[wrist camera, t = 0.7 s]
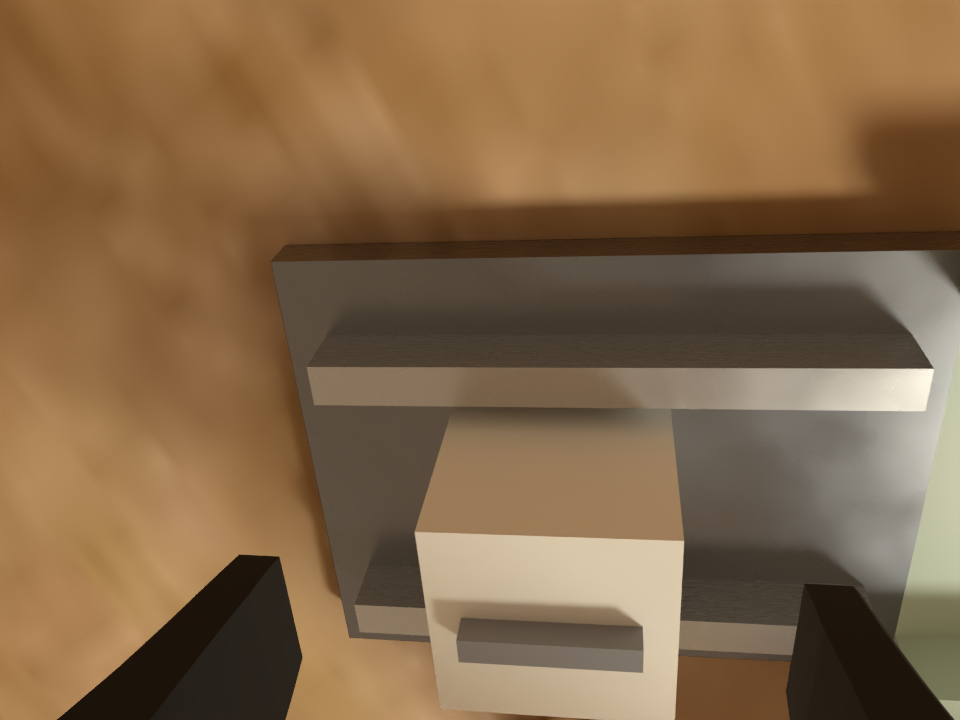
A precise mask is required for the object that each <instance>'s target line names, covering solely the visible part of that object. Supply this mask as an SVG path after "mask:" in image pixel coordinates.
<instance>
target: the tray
mask: <svg viewBox="0 0 960 720" xmlns="http://www.w3.org/2000/svg"><path fill="white" fill-rule="evenodd" d="M894 642H895V643H896V644H897V646H898V647H899V649H900V650H901V651H902V653H903V654H904V655H905V657H906V658H907V659H908V661H909V662H910V663H911V665H912V666H913V667H914V669H915V670H916V671H917V673H918V674H919V675H920V677H921V678H922V679H923V681H924V682H925V683H926V684H927V686H928V687H929V688H930V690H931V691H932V692H933V694H934V695H935V696H936V697H937V699H938V700H939V701H940V702H941V704H942V705H943V706H944V707H945V709H946V710H947V711H948V712H949V714H950V715H951V716H952V717H953V719H954V720H960V346H959V350H958V355H957V359H956V364H955V368H954V372H953V377H952V381H951V386H950V390H949V395H948V399H947V404H946V408H945V413H944V417H943V422H942V426H941V431H940V435H939V440H938V444H937V449H936V453H935V458H934V462H933V467H932V471H931V476H930V480H929V485H928V489H927V493H926V498H925V502H924V507H923V511H922V516H921V520H920V525H919V529H918V534H917V538H916V543H915V547H914V552H913V556H912V561H911V565H910V570H909V574H908V579H907V583H906V588H905V592H904V597H903V601H902V606H901V610H900V615H899V619H898V623H897V628H896V632H895V637H894Z"/></svg>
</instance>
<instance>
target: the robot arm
mask: <svg viewBox="0 0 960 720" xmlns="http://www.w3.org/2000/svg"><path fill="white" fill-rule="evenodd" d="M301 661H302V653H301V649H300V644H299V640H298V636H297V631H296V627H295V623H294V618H293V614H292V610H291V605H290V601H289V597H288V592H287V588H286V584H285V579H284V575H283V571H282V566H281V562H280V558H279V557H275V556H256V555H238V556H237V557H236V558H235V559H234V560H233V561H232V562H231V563H230V564H229V565H228V566H226V567H225V568H224V569H223V570H222V571H221V572H220V573H219V574H218V575H217V576H216V577H215V578H214V579H213V580H212V581H211V582H209V583H208V584H207V585H206V586H205V587H204V588H203V589H202V590H201V591H200V592H199V593H198V594H197V595H196V596H195V597H194V598H193V599H192V600H191V601H190V602H188V603H187V604H186V605H185V606H184V607H183V608H182V609H181V610H180V611H179V612H178V613H177V614H176V615H175V616H174V617H173V618H172V619H171V620H170V621H168V622H167V623H166V624H165V625H164V626H163V627H162V628H161V629H160V630H159V631H158V632H157V633H156V634H154V635H153V636H152V637H151V638H150V639H149V640H148V641H147V642H146V643H145V644H144V645H143V646H141V647H140V648H139V649H138V650H137V651H136V652H135V653H134V654H133V655H132V656H131V657H129V658H128V659H127V660H126V661H125V662H124V663H123V664H122V665H121V666H120V667H118V668H117V669H116V670H115V671H114V672H113V673H112V674H110V675H109V676H108V677H107V678H106V679H104V680H103V681H102V682H101V683H100V684H99V685H97V686H96V687H95V688H94V689H93V690H92V691H90V692H89V693H88V694H87V695H86V696H85V697H83V698H82V699H81V700H80V701H79V702H77V703H76V704H75V705H74V706H73V707H72V708H70V709H69V710H68V711H67V712H66V713H65V714H63V715H62V716H61V717H60V718H59V719H57V720H285V719H286V716H287V712H288V709H289V705H290V702H291V698H292V695H293V691H294V687H295V684H296V680H297V676H298V672H299V669H300V665H301ZM786 693H787V701H788V708H789V716H790V720H954V719H953V717H952V716H951V715H950V714H949V712H948V711H947V710H946V709H945V707H944V706H943V705H942V704H941V702H940V701H939V700H938V699H937V697H936V696H935V695H934V694H933V692H932V691H931V690H930V688H929V687H928V686H927V684H926V683H925V682H924V681H923V679H922V678H921V677H920V675H919V674H918V673H917V671H916V670H915V669H914V667H913V666H912V665H911V663H910V662H909V661H908V659H907V658H906V657H905V655H904V654H903V653H902V651H901V650H900V649H899V647H898V646H897V644H896V643H895V642H894V640H893V639H892V637H891V636H890V635H889V633H888V632H887V631H886V629H885V628H884V626H883V625H882V623H881V622H880V621H879V619H878V618H877V616H876V615H875V614H874V612H873V611H872V609H871V608H870V606H869V605H868V603H867V602H866V601H865V599H864V598H863V596H862V595H861V593H860V592H859V591H858V590H857V589H856V588H855V587H854V586H840V585H820V584H804V588H803V593H802V599H801V605H800V611H799V617H798V623H797V629H796V635H795V641H794V647H793V653H792V659H791V665H790V671H789V677H788V683H787V689H786Z"/></svg>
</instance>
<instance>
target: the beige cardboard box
mask: <svg viewBox="0 0 960 720" xmlns="http://www.w3.org/2000/svg"><path fill="white" fill-rule="evenodd" d="M415 538H416V545H417V552H418V559H419V565H420V572H421V579H422V586H423V593H424V600H425V607H426V614H427V620H428V627H429V634H430V641H431V648H432V655H433V662H434V669H435V675H436V682H437V689H438V696H439V703H440V709H446V710H461V711H476V712H491V713H506V714H521V715H536V716H551V717H566V718H581V719H596V720H675V707H676V688H677V669H678V650H679V631H680V612H681V593H682V573H683V554H684V534H683V524H682V515H681V505H680V495H679V485H678V475H677V465H676V456H675V446H674V436H673V426H672V416H671V409H643V408H545V407H453V408H452V412H451V415H450V418H449V421H448V425H447V428H446V431H445V434H444V438H443V441H442V444H441V448H440V451H439V454H438V457H437V461H436V464H435V467H434V470H433V474H432V477H431V480H430V483H429V487H428V490H427V493H426V496H425V500H424V503H423V506H422V510H421V513H420V516H419V519H418V523H417V526H416V529H415Z"/></svg>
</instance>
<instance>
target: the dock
mask: <svg viewBox="0 0 960 720" xmlns="http://www.w3.org/2000/svg"><path fill="white" fill-rule="evenodd" d="M271 265H272V270H273V275H274V280H275V285H276V289H277V294H278V299H279V304H280V308H281V313H282V318H283V323H284V327H285V332H286V337H287V342H288V347H289V351H290V356H291V361H292V366H293V370H294V375H295V380H296V385H297V390H298V394H299V399H300V404H301V409H302V413H303V418H304V423H305V428H306V432H307V437H308V442H309V447H310V452H311V456H312V461H313V466H314V471H315V475H316V480H317V485H318V490H319V495H320V499H321V504H322V509H323V514H324V518H325V523H326V528H327V533H328V538H329V542H330V547H331V552H332V557H333V561H334V566H335V571H336V576H337V580H338V585H339V590H340V595H341V600H342V604H343V609H344V614H345V619H346V623H347V628H348V633H349V638H364V639H382V640H401V641H419V642H431V641H430V634H429V627H428V620H427V614H426V607H425V600H424V593H423V586H422V579H421V572H420V565H419V559H418V552H417V545H416V538H415V529H416V526H417V523H418V519H419V516H420V513H421V510H422V506H423V503H424V500H425V496H426V493H427V490H428V487H429V483H430V480H431V477H432V474H433V470H434V467H435V464H436V461H437V457H438V454H439V451H440V448H441V444H442V441H443V438H444V434H445V431H446V428H447V425H448V421H449V418H450V415H451V412H452V408H453V407H545V408H643V409H671V416H672V426H673V436H674V446H675V456H676V465H677V475H678V485H679V495H680V505H681V515H682V524H683V534H684V554H683V573H682V593H681V612H680V631H679V650H678V656H695V657H713V658H731V659H750V660H768V661H786V662H791V659H792V653H793V647H794V641H795V635H796V629H797V623H798V617H799V611H800V605H801V599H802V593H803V588H804V584H820V585H840V586H854V587H855V588H856V589H857V590H858V591H859V592H860V593H861V595H862V596H863V598H864V599H865V601H866V602H867V603H868V605H869V606H870V608H871V609H872V611H873V612H874V614H875V615H876V616H877V618H878V619H879V621H880V622H881V623H882V625H883V626H884V628H885V629H886V631H887V632H888V633H889V635H890V636H891V637H892V639H893V640H894V637H895V632H896V628H897V623H898V619H899V615H900V610H901V606H902V601H903V597H904V592H905V588H906V583H907V579H908V574H909V570H910V565H911V561H912V556H913V552H914V547H915V543H916V538H917V534H918V529H919V525H920V520H921V516H922V511H923V507H924V502H925V498H926V493H927V489H928V485H929V480H930V476H931V471H932V467H933V462H934V458H935V453H936V449H937V444H938V440H939V435H940V431H941V426H942V422H943V417H944V413H945V408H946V404H947V399H948V395H949V390H950V386H951V381H952V377H953V372H954V368H955V364H956V359H957V355H958V350H959V346H960V232H916V233H867V234H818V235H770V236H721V237H672V238H624V239H575V240H526V241H478V242H429V243H380V244H332V245H285V246H284V248H283V249H282V250H281V251H280V252H279V253H278V254H277V255H276V257H275V258H274V259H273V260H272V261H271Z"/></svg>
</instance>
